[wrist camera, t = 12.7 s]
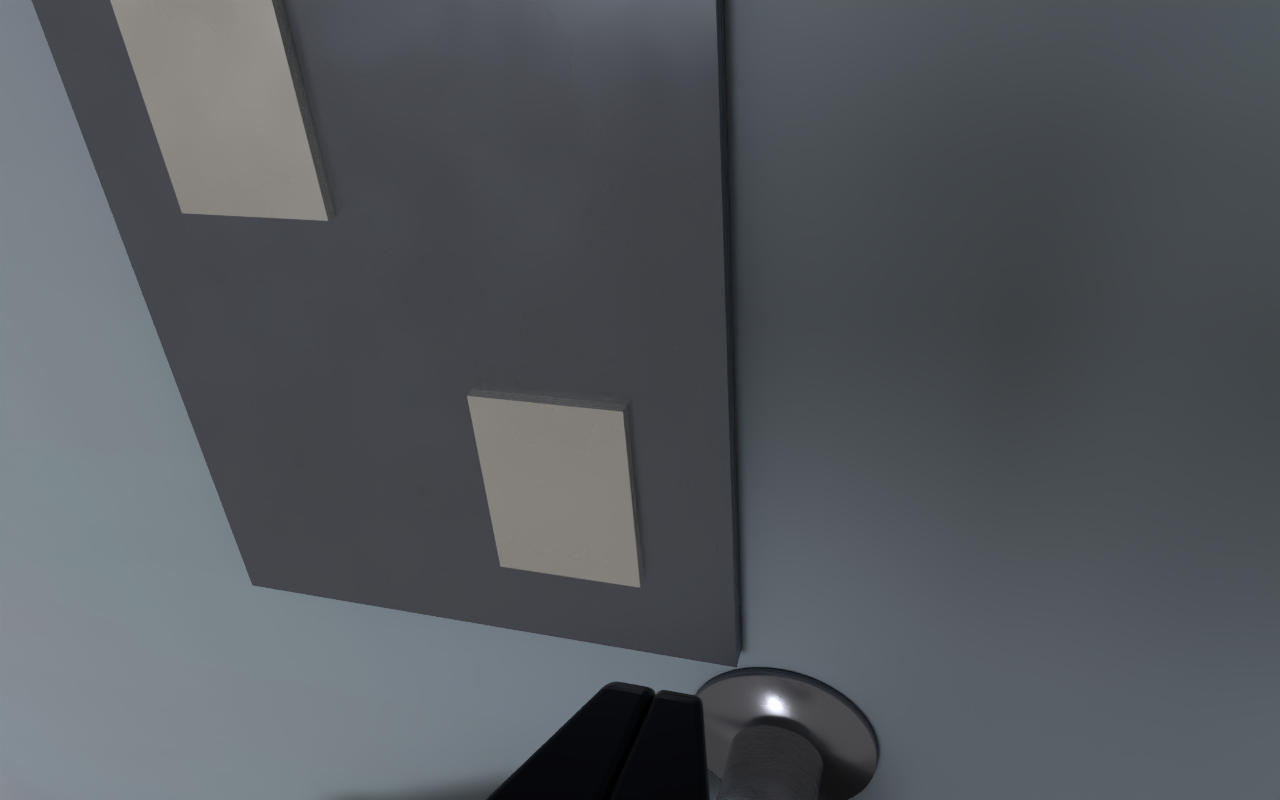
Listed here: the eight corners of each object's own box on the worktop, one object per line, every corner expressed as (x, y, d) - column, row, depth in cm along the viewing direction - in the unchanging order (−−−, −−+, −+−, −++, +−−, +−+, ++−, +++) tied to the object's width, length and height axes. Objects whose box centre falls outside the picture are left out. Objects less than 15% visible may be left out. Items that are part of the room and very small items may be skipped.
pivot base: (872, 813, 27) (871, 823, 27) (693, 777, 29) (690, 786, 29) (883, 687, 25) (881, 696, 25) (684, 653, 26) (681, 662, 26)
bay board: (741, 649, 25) (733, 676, 25) (264, 571, 29) (246, 592, 29) (719, -169, 16) (706, -165, 15) (10, -126, 20) (-28, -120, 19)
